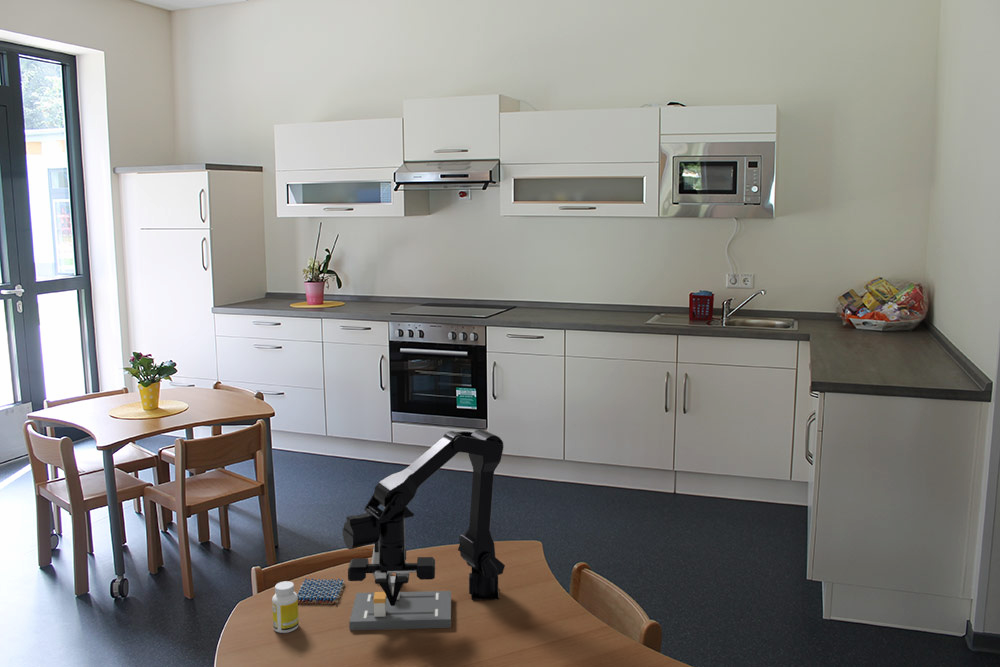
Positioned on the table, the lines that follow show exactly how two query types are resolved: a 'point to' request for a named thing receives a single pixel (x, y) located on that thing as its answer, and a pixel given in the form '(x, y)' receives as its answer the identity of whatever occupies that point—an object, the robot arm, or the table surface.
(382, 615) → the orange fader
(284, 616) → the supplement bottle
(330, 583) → the woven mat
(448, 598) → the console
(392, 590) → the grey fader
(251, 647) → the table surface
